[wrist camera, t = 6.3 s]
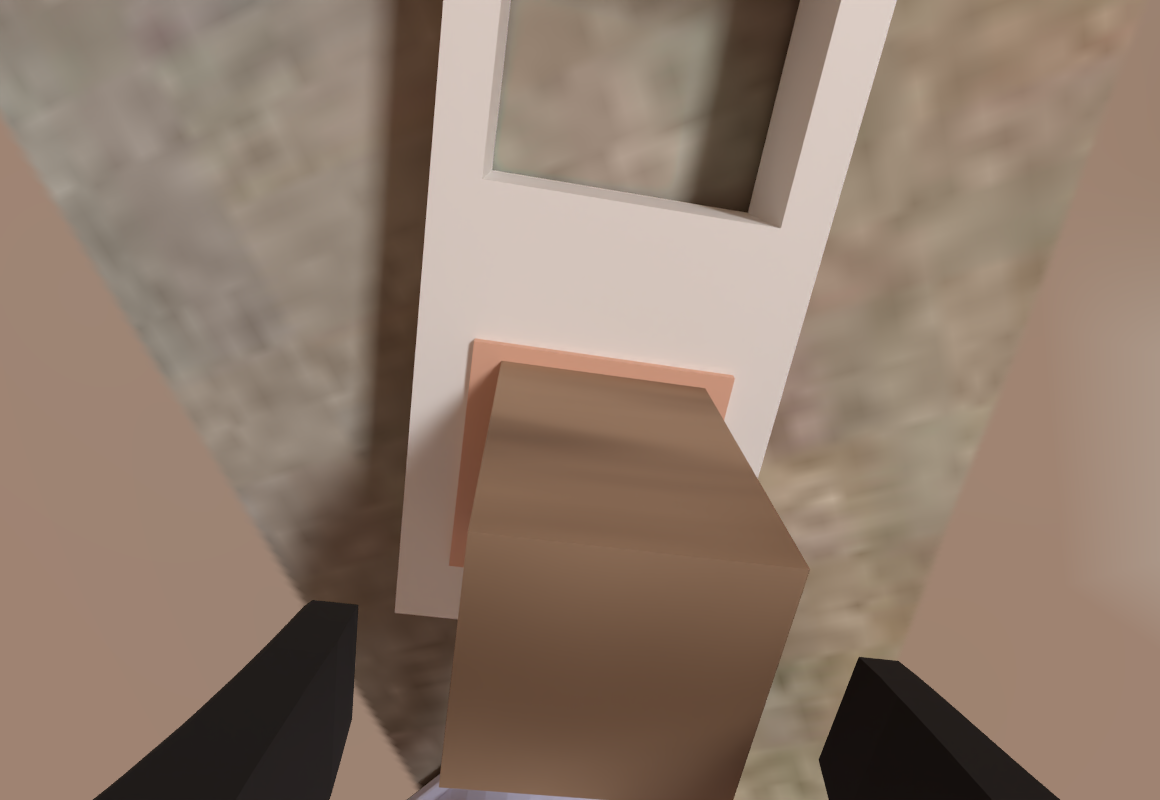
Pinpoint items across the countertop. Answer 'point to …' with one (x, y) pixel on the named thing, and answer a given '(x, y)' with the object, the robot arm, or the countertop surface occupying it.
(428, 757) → the countertop surface
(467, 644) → the plug
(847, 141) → the socket block
